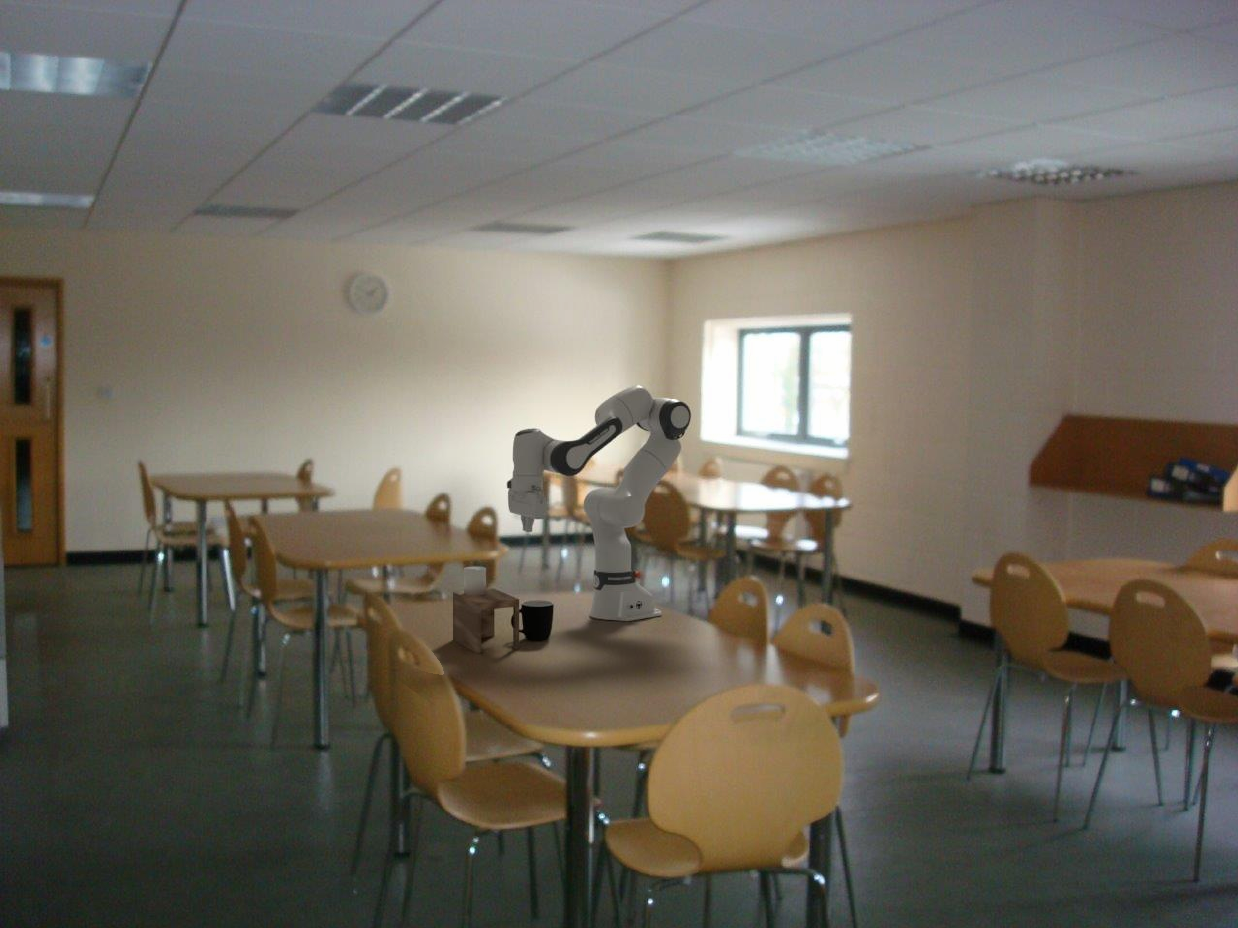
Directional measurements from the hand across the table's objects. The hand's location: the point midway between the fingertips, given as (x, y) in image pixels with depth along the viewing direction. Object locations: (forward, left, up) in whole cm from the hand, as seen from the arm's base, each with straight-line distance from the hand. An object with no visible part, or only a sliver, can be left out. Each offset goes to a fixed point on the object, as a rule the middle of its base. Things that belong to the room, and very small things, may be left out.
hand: (527, 531), depth 340 cm
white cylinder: (+21, +12, -14) cm, 29 cm away
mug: (+6, +16, -28) cm, 33 cm away
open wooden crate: (+20, +16, -28) cm, 38 cm away
